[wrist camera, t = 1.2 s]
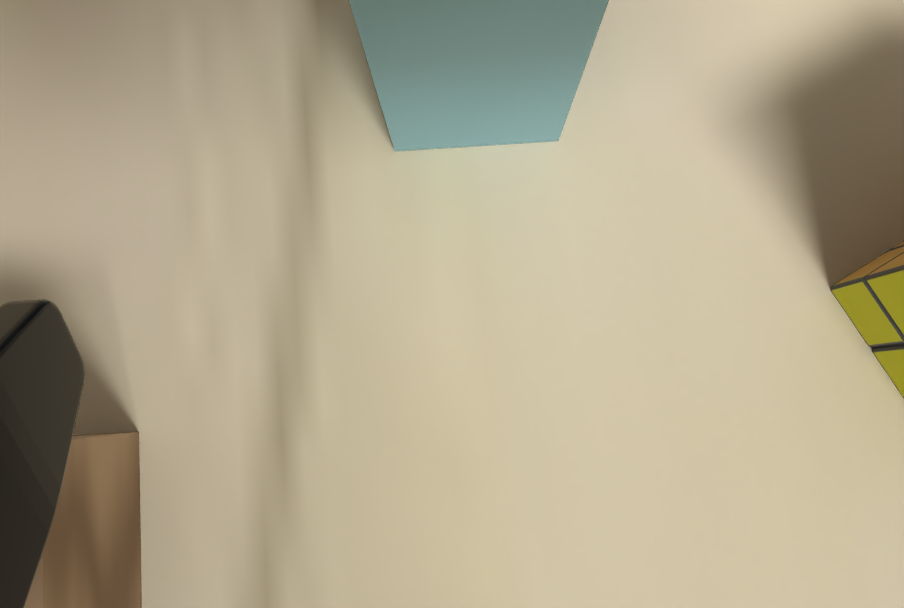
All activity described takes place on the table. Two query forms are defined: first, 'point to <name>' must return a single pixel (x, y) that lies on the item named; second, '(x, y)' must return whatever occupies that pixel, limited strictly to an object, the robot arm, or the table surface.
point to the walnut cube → (94, 529)
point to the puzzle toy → (879, 308)
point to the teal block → (476, 67)
